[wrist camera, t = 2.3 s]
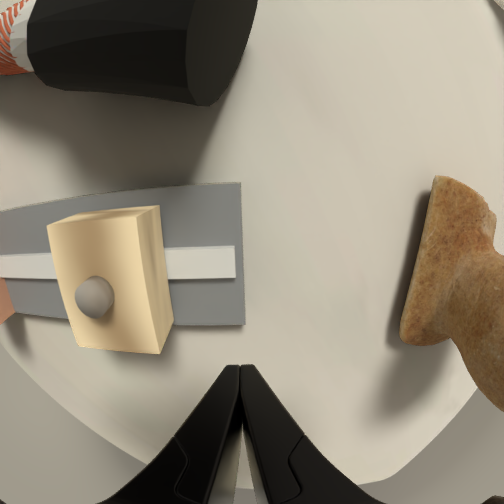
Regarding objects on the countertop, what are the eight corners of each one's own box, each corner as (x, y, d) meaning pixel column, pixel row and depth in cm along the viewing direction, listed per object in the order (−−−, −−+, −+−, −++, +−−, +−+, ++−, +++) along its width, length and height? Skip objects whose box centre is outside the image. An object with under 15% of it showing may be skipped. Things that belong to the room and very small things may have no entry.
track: (7, 303, 21) (-28, 331, 15) (-13, 214, 18) (-56, 229, 12) (245, 314, 21) (246, 369, 15) (240, 181, 18) (239, 189, 12)
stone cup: (461, 333, 24) (537, 414, 9) (379, 339, 23) (459, 465, 9) (499, 199, 19) (611, 240, 5) (420, 171, 18) (585, 205, 4)
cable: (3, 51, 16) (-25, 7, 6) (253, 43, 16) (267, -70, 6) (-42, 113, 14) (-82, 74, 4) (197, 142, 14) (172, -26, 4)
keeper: (101, 316, 19) (70, 356, 14) (80, 212, 16) (34, 230, 11) (174, 320, 19) (155, 366, 14) (159, 205, 16) (126, 222, 11)
